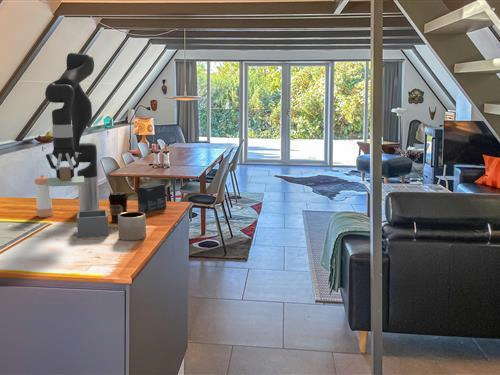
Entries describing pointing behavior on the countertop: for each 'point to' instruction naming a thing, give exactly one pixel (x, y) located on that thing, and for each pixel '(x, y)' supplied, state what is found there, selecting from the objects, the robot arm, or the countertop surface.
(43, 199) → the pepper shaker
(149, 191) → the small box
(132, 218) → the planter
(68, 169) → the lid
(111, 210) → the coffee cup
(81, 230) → the bin
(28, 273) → the countertop surface
